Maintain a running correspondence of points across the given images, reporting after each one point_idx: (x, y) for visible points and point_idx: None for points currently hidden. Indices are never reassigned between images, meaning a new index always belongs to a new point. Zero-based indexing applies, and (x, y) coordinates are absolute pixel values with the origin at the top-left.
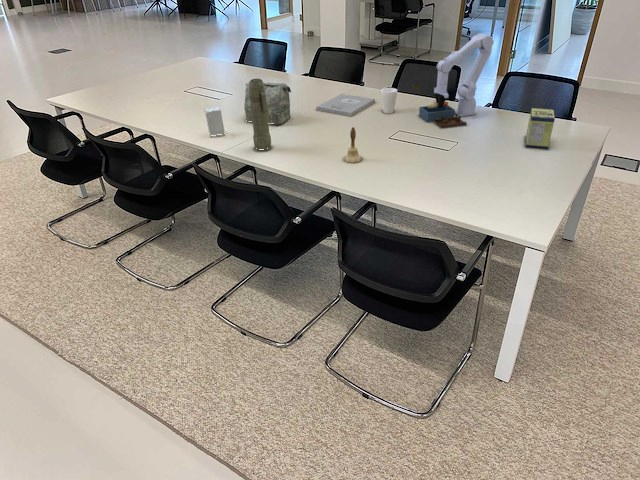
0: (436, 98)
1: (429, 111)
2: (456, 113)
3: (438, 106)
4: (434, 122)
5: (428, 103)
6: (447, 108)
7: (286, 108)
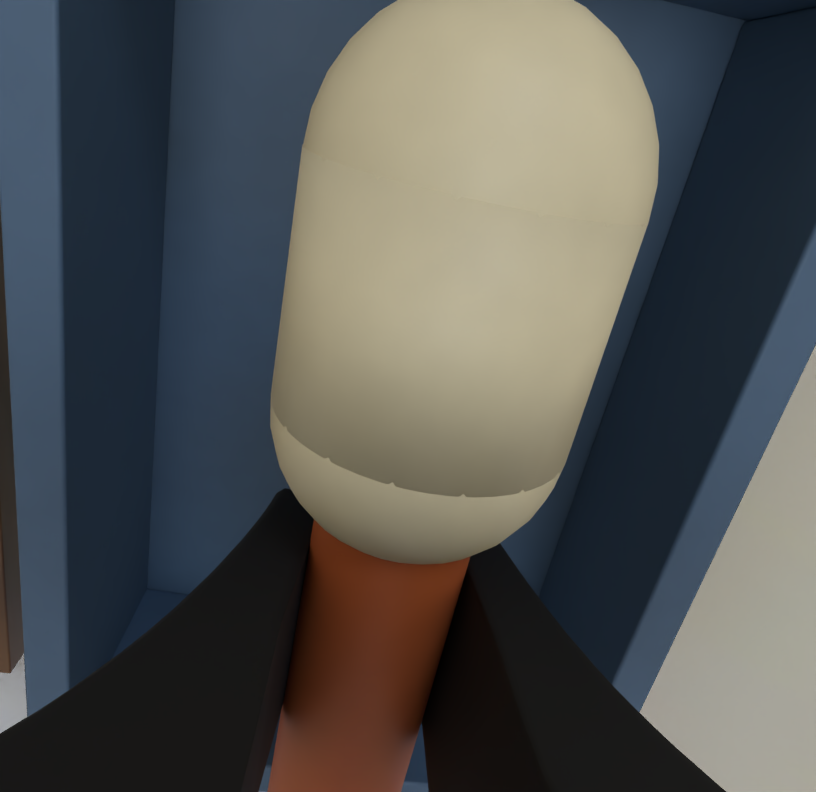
0: (538, 764)
1: (667, 320)
2: None
3: None
4: None
5: (552, 42)
6: None
7: None
